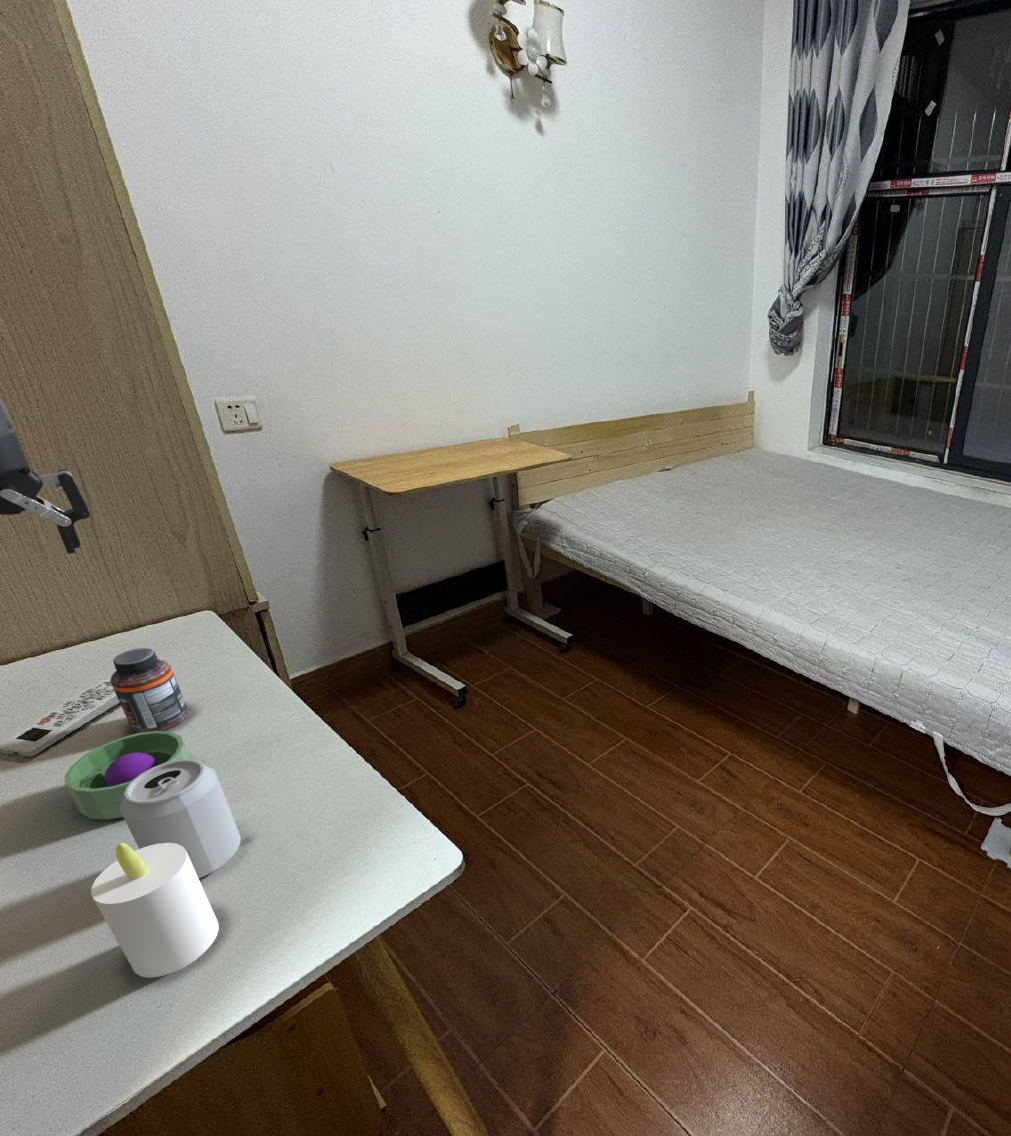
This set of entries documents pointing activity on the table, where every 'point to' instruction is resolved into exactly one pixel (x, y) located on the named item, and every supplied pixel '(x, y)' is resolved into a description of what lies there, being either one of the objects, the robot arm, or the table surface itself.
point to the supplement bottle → (148, 691)
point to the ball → (128, 768)
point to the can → (182, 813)
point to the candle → (156, 908)
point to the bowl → (91, 768)
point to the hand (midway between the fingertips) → (21, 559)
